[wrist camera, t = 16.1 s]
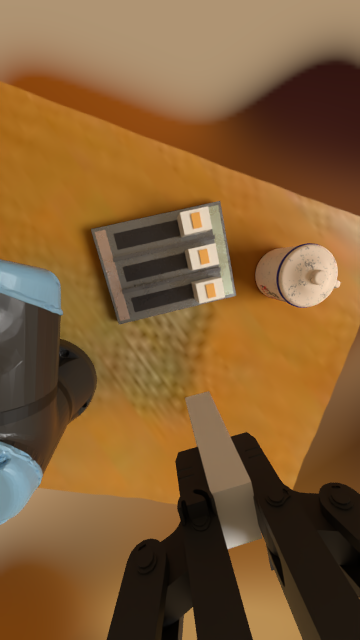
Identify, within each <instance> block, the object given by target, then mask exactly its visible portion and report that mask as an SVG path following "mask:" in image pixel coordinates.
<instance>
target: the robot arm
mask: <svg viewBox="0 0 360 640" xmlns="http://www.w3.org/2000/svg"><path fill="white" fill-rule="evenodd" d="M61 315H63V311H62V310H61V287H60V282H59V280H58V278H57V277H56V276H55V275H54V274H53V273H52V272H51V271H49V270H46V269H43V268H38V267H34V266H29V265H25V264H20V263H15V262H10V261H6V260H1V259H0V525H1V524H3V523H5V522H6V521H7V520H8V519H10V518H12V517H14V516H15V515H17V514H18V513H19V512H20V511H21V510H22V509H23V508H24V506H25V505H26V504H27V502H28V501H29V499H30V497H31V496H32V494H33V492H34V491H35V490H36V488H37V487H38V486H39V485H40V483H41V479H42V477H43V474H44V472H45V469H46V467H47V465H48V463H49V461H50V459H51V457H52V455H53V453H54V451H55V449H56V447H57V445H58V443H59V441H60V439H61V437H62V435H63V433H64V431H65V429H66V426H67V425H68V424H69V423H70V422H71V421H73V420H74V419H75V418H77V417H78V416H79V415H80V414H82V413H83V412H84V410H85V409H86V408H87V407H88V405H89V404H90V402H91V400H92V397H93V395H94V392H95V389H96V384H97V377H96V371H95V368H94V365H93V363H92V361H91V360H90V358H89V357H88V356H87V355H86V353H85V352H84V351H82V350H81V349H80V348H79V347H77V346H76V345H74V344H72V343H70V342H68V341H65V340H61V339H60V318H61ZM185 399H186V404H187V408H188V412H189V416H190V420H191V424H192V428H193V432H194V436H195V440H196V444H197V447H195V448H192V449H188V450H185V451H181V452H178V455H177V458H176V461H175V462H176V469H177V476H178V484H179V491H180V498H179V500H178V506H177V507H178V508H177V509H178V512H179V516H180V519H181V522H180V524H179V526H178V527H177V529H176V530H175V531H174V532H173V533H172V534H171V535H170V536H168V537H167V538H166V539H164V540H163V541H161V542H159V541H158V540H156V539H147V540H143V541H142V542H141V543H139V544H138V545H136V547H135V548H134V549H133V551H132V552H131V554H130V556H129V559H128V561H127V564H126V568H125V572H124V576H123V580H122V583H121V587H120V591H119V595H118V599H117V602H116V606H115V610H114V614H113V618H112V621H111V625H110V629H109V633H108V637H107V640H182V632H183V618H184V614H185V613H186V612H187V611H189V610H190V609H191V608H192V607H193V610H194V618H195V624H196V633H197V640H253V639H252V635H251V632H250V628H249V625H248V621H247V618H246V614H245V611H244V607H243V603H242V600H241V596H240V592H239V589H238V585H237V581H236V578H235V574H234V571H233V567H232V563H231V560H230V556H229V553H228V549H229V548H233V547H236V546H239V545H242V544H245V543H249V542H252V541H255V540H258V539H261V538H262V535H263V537H264V539H265V542H266V546H267V551H268V556H269V562H270V566H271V570H275V572H276V575H277V577H278V580H279V582H280V584H281V587H282V590H283V592H284V594H285V597H286V599H287V601H288V604H289V607H290V609H291V612H292V614H293V616H294V619H295V621H296V624H297V626H298V629H299V631H300V634H301V636H302V639H303V640H360V599H359V598H360V494H359V493H357V492H356V491H355V490H353V489H351V488H350V487H348V486H347V485H344V484H340V483H328V484H325V485H323V486H322V487H321V489H320V491H319V494H314V493H299V492H296V491H293V490H291V489H290V488H289V487H287V486H286V485H284V484H283V483H282V481H281V480H280V479H279V477H278V475H277V474H276V472H275V470H274V469H273V467H272V465H271V464H270V462H269V460H268V459H267V457H266V456H265V455H264V452H263V451H262V449H261V448H260V446H259V444H258V442H257V441H256V439H255V438H254V437H253V436H251V435H250V434H249V433H247V432H246V433H242V434H239V435H235V436H232V437H230V435H229V433H228V431H227V429H226V427H225V425H224V422H223V420H222V418H221V416H220V414H219V412H218V410H217V407H216V405H215V403H214V401H213V399H212V397H211V395H210V393H209V391H208V392H205V393H201V394H197V395H194V396H190V397H186V398H185ZM261 533H262V535H261Z"/></svg>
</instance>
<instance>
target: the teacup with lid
mask: <svg viewBox="0 0 360 640" xmlns="http://www.w3.org/2000/svg"><path fill="white" fill-rule="evenodd" d="M337 275H338V269H337V264H336V261H335V259H334V257H333V255H332V254H331V253H330V252H329V251H328V250H327V249H326V248H324V247H322V246H320V245H317V244H311V243H309V244H302V245H299V246H297V247H288V248H279V249H274V250H272V251H269V252H268V253H266V254H265V255H264V256H263V257H262V258H261V260H260V261H259V263H258V265H257V268H256V273H255V279H256V283H257V286H258V288H259V289H260V291H261V292H262V293H263V294H264V295H266V296H268V297H270V298H274V299H277V300H281V301H284V302H287V303H289V304H291V305H293V306H296V307H310V306H314V305H316V304H318V303H320V302H322V301H323V300H324V299H325V298H327V297H328V296H329V294H330V293H331V292H332V290H333V288H338V287H339V285H340V281H339V280H337Z"/></svg>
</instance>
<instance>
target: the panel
mask: <svg viewBox="0 0 360 640" xmlns="http://www.w3.org/2000/svg"><path fill="white" fill-rule="evenodd" d="M207 206H208V208H209V214H210V219H211V225H212V229H211V230H209V231H207V232H204V233H200V234H195V235H191V236H186V237H182V238H181V235H180V230H179V225H178V221H177V216H178V215H179V213H180V212H184V211H189V210H193V209H198V208H202V207H207ZM91 231H92V235H93V238H94V241H95V245H96V248H97V252H98V255H99V258H100V262H101V265H102V269H103V272H104V275H105V279H106V282H107V286H108V289H109V292H110V296H111V299H112V303H113V306H114V309H115V313H116V316H117V320H118V323H119V324H123V323H127V322H131V321H135V320H139V319H143V318H147V317H151V316H155V315H159V314H163V313H168V312H172V311H176V310H180V309H184V308H188V307H192V306H196V305H200V304H199V303H198V302H197V301H196V300H195V298H194V293H193V288H192V284H191V282H193V281H197V280H201V279H206V278H210V277H214V276H216V277H221V278H222V281H223V287H224V292H225V298H229V297H233V296H236V291H235V286H234V280H233V274H232V268H231V262H230V256H229V250H228V245H227V239H226V233H225V227H224V221H223V215H222V209H221V204H220V201H218V202H213V203H209V204H204V205H199V206H195V207H190V208H186V209H181V210H177V211H172V212H168V213H163V214H158V215H154V216H149V217H145V218H140V219H136V220H131V221H127V222H122V223H117V224H113V225H108V226H104V227H99V228H95V229H91ZM214 243H216V248H217V254H218V259H219V264H218V265H213V266H209V267H205V268H201V269H197V270H189V269H188V265H187V260H186V255H185V250H188V249H192V248H196V247H201V246H205V245H209V244H214ZM221 299H224V298H221ZM217 300H220V299H217ZM213 301H216V300H213ZM209 302H212V301H209ZM205 303H208V302H205ZM201 304H204V303H201Z"/></svg>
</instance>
